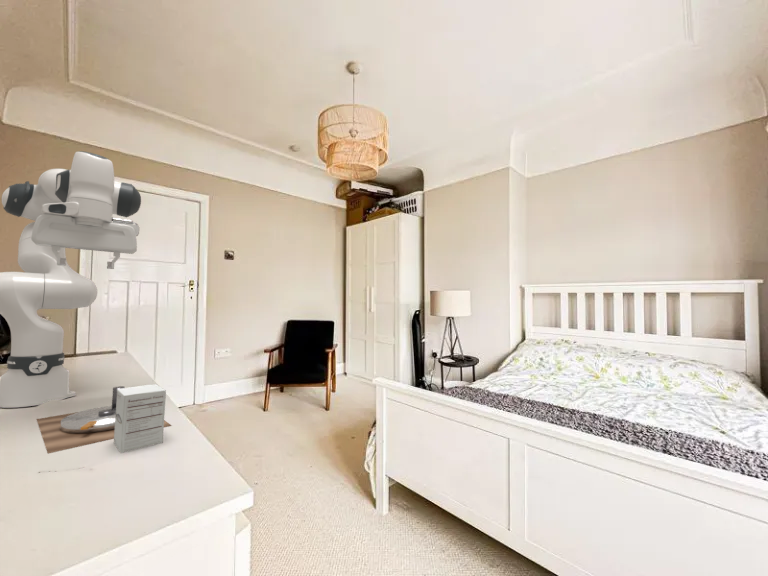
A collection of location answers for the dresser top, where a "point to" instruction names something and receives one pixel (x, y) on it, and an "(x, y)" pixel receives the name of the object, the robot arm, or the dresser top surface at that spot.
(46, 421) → the base board
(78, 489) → the dresser top surface
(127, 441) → the supplement box
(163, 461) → the dresser top surface
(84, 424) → the dial
